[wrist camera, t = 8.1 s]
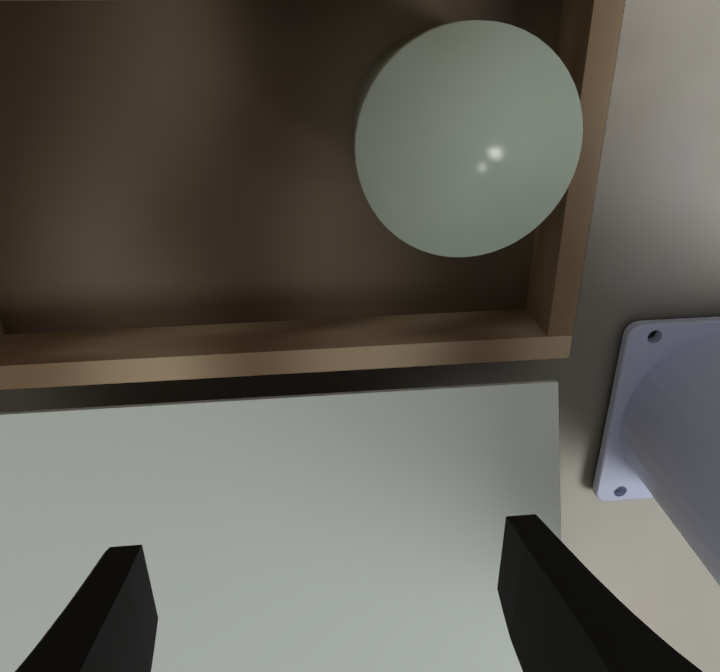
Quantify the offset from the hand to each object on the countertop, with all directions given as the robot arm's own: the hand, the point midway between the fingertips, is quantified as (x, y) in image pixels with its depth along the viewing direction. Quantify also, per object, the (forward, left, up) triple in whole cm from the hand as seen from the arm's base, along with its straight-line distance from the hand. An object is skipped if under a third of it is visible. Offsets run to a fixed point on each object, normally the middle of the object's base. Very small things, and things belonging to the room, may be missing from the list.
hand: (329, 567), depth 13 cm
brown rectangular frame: (+1, -1, -10) cm, 11 cm away
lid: (+1, +5, -5) cm, 8 cm away
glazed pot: (-4, -7, -10) cm, 13 cm away
